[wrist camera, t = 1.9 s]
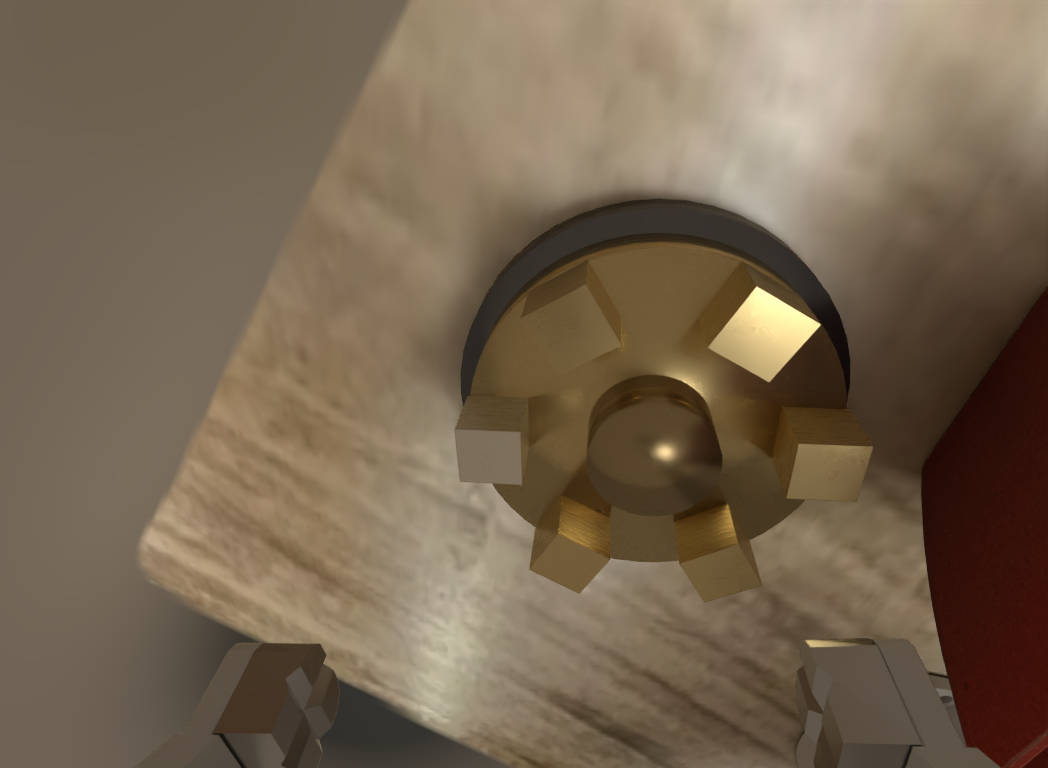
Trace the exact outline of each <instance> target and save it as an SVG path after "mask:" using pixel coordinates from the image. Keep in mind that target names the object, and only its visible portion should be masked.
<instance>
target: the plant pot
mask: <svg viewBox="0 0 1048 768" xmlns="http://www.w3.org/2000/svg"><path fill="white" fill-rule="evenodd" d="M921 500H922V517H923V535H924V546H925V555H926V564H927V573H928V580H929V587H930V594H931V600H932V606H933V612H934V617H935V622H936V627H937V632H938V637H939V642H940V646H941V651H942V655H943V659H944V663H945V667H946V671H947V676H948V680H949V683H950V687H951V691H952V695H953V699H954V703H955V707H956V710H957V714H958V718H959V721H960V725H961V728H962V732H963V736H964V739H965V742H966V745H967V747H972V748H978V749H979V750H980V751H981V752H983V753H984V754H985V755H986V756H987V757H989V758H990V759H991V760H992V761H993V762H995V763H996V764H997V765H998V766H999V767H1001V768H1048V288H1047V289H1046V290H1045V292H1044V293H1043V294H1042V296H1041V297H1040V299H1039V300H1038V301H1037V303H1036V304H1035V305H1034V307H1033V308H1032V310H1031V311H1030V313H1029V314H1028V315H1027V317H1026V318H1025V320H1024V321H1023V323H1022V324H1021V326H1020V327H1019V329H1018V330H1017V331H1016V333H1015V334H1014V336H1013V337H1012V338H1011V340H1010V341H1009V343H1008V344H1007V346H1006V347H1005V349H1004V350H1003V352H1002V353H1001V354H1000V356H999V357H998V359H997V360H996V362H995V363H994V364H993V366H992V367H991V369H990V370H989V371H988V373H987V374H986V376H985V377H984V379H983V380H982V381H981V383H980V384H979V386H978V387H977V389H976V390H975V392H974V393H973V394H972V396H971V397H970V399H969V400H968V402H967V403H966V404H965V406H964V407H963V409H962V410H961V412H960V413H959V415H958V416H957V418H956V419H955V420H954V422H953V423H952V424H951V426H950V427H949V429H948V430H947V431H946V433H945V434H944V436H943V437H942V439H941V440H940V442H939V443H938V445H937V446H936V447H935V449H934V450H933V452H932V453H931V455H930V456H929V457H928V459H927V460H926V462H925V463H924V465H923V468H922V480H921Z"/></svg>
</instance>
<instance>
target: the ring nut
mask: <svg viewBox="0 0 1048 768" xmlns="http://www.w3.org/2000/svg"><path fill="white" fill-rule="evenodd" d="M846 399H847V393H846V386H845V379H844V373H843V369H842V366H841V363H840V360H839V357H838V354H837V351H836V349H835V347H834V345H833V343H832V341H831V339H830V338H829V336H828V334H827V332H826V330H825V329H824V327H823V326H822V324H821V323H820V322H819V320H818V319H817V317H816V316H815V315H814V313H813V312H812V311H811V309H810V308H809V307H808V305H807V304H806V303H805V301H804V300H803V299H802V297H801V296H800V295H799V293H798V292H797V291H796V289H795V288H793V287H792V286H791V285H790V284H789V283H788V282H787V281H786V280H785V279H784V278H783V277H782V276H781V275H780V274H779V273H778V272H776V271H775V270H773V269H772V268H770V267H769V266H768V265H766V264H765V263H763V262H762V261H760V260H759V259H757V258H755V257H753V256H751V255H749V254H747V253H745V252H743V251H741V250H739V249H737V248H735V247H732V246H729V245H726V244H723V243H720V242H718V241H715V240H711V239H706V238H701V237H696V236H691V235H686V234H671V233H648V234H633V235H628V236H623V237H617V238H612V239H607V240H604V241H601V242H598V243H595V244H592V245H589V246H586V247H583V248H581V249H579V250H577V251H574V252H572V253H570V254H568V255H566V256H564V257H562V258H560V259H559V260H557V261H555V262H554V263H552V264H551V265H549V266H548V267H546V268H544V269H543V270H541V271H540V272H539V273H538V274H537V275H535V276H534V277H533V278H532V279H531V280H529V281H528V282H527V283H526V284H525V285H523V287H522V288H521V289H520V290H519V291H518V292H517V293H516V294H515V295H514V297H513V298H512V299H511V300H510V301H509V302H508V303H507V305H506V306H505V308H504V309H503V311H502V312H501V314H500V315H499V317H498V318H497V320H496V322H495V324H494V326H493V328H492V330H491V332H490V334H489V336H488V338H487V341H486V344H485V346H484V349H483V351H482V354H481V356H480V359H479V361H478V365H477V368H476V371H475V375H474V378H473V381H472V388H471V395H470V396H467V398H466V401H465V404H464V406H463V409H462V411H461V414H460V417H459V419H458V422H457V425H456V427H455V438H456V448H457V458H458V468H459V477H460V482H476V483H492V484H493V486H494V487H495V489H496V490H497V492H498V493H499V494H500V495H501V496H502V497H503V499H504V500H505V501H506V502H507V503H508V504H509V505H510V507H512V508H513V509H514V510H515V511H516V512H517V513H518V514H519V515H520V516H522V517H523V518H524V519H525V520H526V521H528V522H529V523H531V524H532V525H533V526H535V527H536V529H535V534H534V541H533V548H532V555H531V561H530V568H529V570H531V571H533V572H535V573H537V574H539V575H542V576H544V577H546V578H548V579H550V580H552V581H554V582H556V583H558V584H560V585H562V586H564V587H567V588H569V589H571V590H573V591H575V592H577V593H580V592H581V591H582V590H583V589H584V588H585V587H586V586H587V584H588V583H589V582H590V581H591V580H592V579H593V578H594V577H595V576H596V574H597V573H598V572H599V571H600V570H601V569H602V568H603V567H604V566H605V564H606V563H607V562H608V561H609V560H610V558H614V559H620V560H629V561H638V562H665V561H678V560H679V563H680V565H681V567H682V568H683V570H684V571H685V573H686V574H687V576H688V578H689V579H690V581H691V582H692V584H693V585H694V587H695V588H696V590H697V591H698V593H699V594H700V596H701V598H702V599H703V601H704V602H708V601H712V600H715V599H718V598H722V597H725V596H728V595H732V594H735V593H738V592H742V591H745V590H748V589H752V588H755V587H758V586H762V583H761V580H760V576H759V573H758V569H757V565H756V562H755V558H754V554H753V551H752V547H751V544H750V541H749V540H751V539H753V538H755V537H757V536H759V535H761V534H763V533H764V532H766V531H767V530H769V529H770V528H772V527H773V526H775V525H776V524H778V523H780V522H781V521H782V520H783V519H785V518H786V517H787V516H788V515H790V514H791V513H792V512H793V511H794V510H796V509H797V508H798V507H799V506H800V505H801V504H802V503H803V502H804V501H805V500H826V501H845V502H857V499H858V496H859V493H860V490H861V486H862V483H863V480H864V476H865V473H866V470H867V467H868V463H869V460H870V457H871V453H872V450H873V445H872V444H871V442H870V441H869V439H868V437H867V436H866V434H865V433H864V431H863V430H862V428H861V426H860V425H859V423H858V422H857V420H856V419H855V417H854V415H853V414H852V412H851V411H850V409H846Z"/></svg>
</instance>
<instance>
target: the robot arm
mask: <svg viewBox="0 0 1048 768" xmlns="http://www.w3.org/2000/svg"><path fill="white" fill-rule="evenodd" d="M800 657H801V660H802V663H803V667H801V668H800V669H799V670H797V674H796V684H795V686H796V698H797V705H798V710H799V715H800V719H801V722H802V726H803V729H804V734H803V736H802V737H801V739H800V741H799V743H798V745H797V749H796V761H797V765H798V767H799V768H1001V767H999V766H998V765H997V764H996V763H995V762H993V761H992V760H991V759H990V758H989V757H987V756H986V755H985V754H984V753H983V752H981V751H980V750H979V749H978V748H972V747H967V745H966V742H965V739H964V736H963V732H962V728H961V725H960V721H959V718H958V714H957V710H956V707H955V703H954V699H953V695H952V691H951V687H950V683H949V680H948V678H943V677H938V676H933V675H928V673H927V671H926V669H925V667H924V665H923V663H922V661H921V659H920V657H919V655H918V653H917V651H916V649H915V647H914V646H913V645H912V644H911V643H910V642H909V641H908V640H906V639H871V640H870V639H869V638H862V639H818V640H804V641H803V642H802V643H801V648H800ZM325 658H326V653H325V652H324V650H323V648H322V646H321V644H292V643H237V644H236V645H234V646H233V647H232V648H231V649H230V650H229V651H228V652H227V654H226V656H225V658H224V660H223V661H222V663H221V665H220V667H219V669H218V670H217V672H216V674H215V676H214V677H213V679H212V681H211V683H210V685H209V686H208V688H207V690H206V692H205V694H204V695H203V697H202V699H201V701H200V702H199V704H198V706H197V708H196V710H195V711H194V713H193V715H192V717H191V719H190V720H189V722H188V724H187V726H186V728H185V730H184V731H183V733H182V734H174V735H172V736H171V737H170V738H169V739H168V740H167V741H165V742H164V743H163V744H162V745H161V746H159V747H158V748H157V749H156V750H155V751H154V752H152V753H151V754H150V755H149V756H147V757H146V758H145V759H144V760H143V761H142V762H140V763H139V764H138V765H137V766H136V767H135V768H317V766H318V764H319V761H320V758H321V755H322V750H321V746H320V742H319V738H320V737H321V736H322V735H323V734H325V733H326V732H327V731H328V730H329V728H330V727H332V724H333V721H334V718H335V715H336V712H337V708H338V699H339V685H338V679H337V677H336V674H335V672H334V671H333V670H332V669H330V668H329V667H327V666H326V665H325V664H323V663H324V660H325Z"/></svg>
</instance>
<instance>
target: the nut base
mask: <svg viewBox="0 0 1048 768" xmlns="http://www.w3.org/2000/svg"><path fill="white" fill-rule="evenodd" d="M648 233H671V234H686V235H691V236H696V237H701V238H706V239H711V240H715V241H718V242H720V243H723V244H726V245H729V246H732V247H735V248H737V249H739V250H741V251H743V252H745V253H747V254H749V255H751V256H753V257H755V258H757V259H759V260H760V261H762V262H763V263H765V264H766V265H768V266H769V267H770V268H772V269H773V270H775V271H776V272H778V273H779V274H780V275H781V276H782V277H783V278H784V279H785V280H786V281H787V282H788V283H789V284H790V285H791V286H792V287H793V288H795V289H796V291H797V292H798V293H799V295H800V296H801V297H802V299H803V300H804V301H805V303H806V304H807V305H808V307H809V308H810V309H811V311H812V312H813V313H814V315H815V316H816V317H817V319H818V320H819V322H820V323H821V324H822V326H823V327H824V329H825V330H826V332H827V334H828V336H829V338H830V339H831V341H832V343H833V345H834V347H835V349H836V351H837V354H838V357H839V360H840V363H841V366H842V369H843V373H844V379H845V386H846V393H847V397H848V391H849V386H850V356H849V349H848V342H847V337H846V334H845V331H844V328H843V325H842V321H841V318H840V315H839V313H838V312H837V310H836V308H835V306H834V304H833V302H832V300H831V298H830V296H829V294H828V293H827V291H826V290H825V289H824V287H823V286H822V285H821V283H820V282H819V281H818V279H817V278H816V276H815V275H814V274H813V273H812V271H811V270H810V269H809V268H808V267H807V265H806V264H805V263H804V262H803V261H802V260H801V259H800V258H799V257H798V256H797V255H796V254H795V253H794V252H793V251H792V250H791V249H790V248H789V247H788V246H787V245H786V244H785V243H784V242H783V241H781V240H780V239H779V238H777V237H776V236H774V235H773V234H772V233H770V232H769V231H767V230H766V229H765V228H763V227H761V226H760V225H758V224H756V223H754V222H752V221H750V220H748V219H746V218H744V217H742V216H740V215H738V214H735V213H732V212H729V211H726V210H723V209H720V208H717V207H715V206H710V205H705V204H700V203H695V202H690V201H683V200H667V199H651V200H636V201H628V202H623V203H618V204H613V205H608V206H603V207H600V208H597V209H594V210H591V211H588V212H585V213H582V214H579V215H577V216H575V217H573V218H571V219H569V220H567V221H565V222H563V223H561V224H559V225H557V226H554V227H553V228H551V229H550V230H548V231H547V232H545V233H544V234H542V235H541V236H539V237H538V238H536V239H535V240H533V241H532V242H531V243H530V244H529V245H528V246H526V247H525V248H524V249H523V250H522V251H521V252H520V253H518V254H517V255H516V256H515V257H514V258H513V259H512V260H511V261H510V263H509V264H508V265H507V266H506V267H505V268H504V270H503V271H502V272H501V273H500V274H499V275H498V277H497V279H496V280H495V282H494V283H493V285H492V286H491V288H490V289H489V291H488V292H487V294H486V296H485V298H484V300H483V302H482V305H481V307H480V309H479V311H478V313H477V316H476V318H475V320H474V322H473V324H472V327H471V329H470V331H469V335H468V338H467V342H466V345H465V349H464V353H463V360H462V368H461V395H462V401H463V406H464V404H465V401H466V398H467V396H470V395H471V388H472V381H473V378H474V375H475V371H476V368H477V365H478V361H479V359H480V356H481V354H482V351H483V349H484V346H485V344H486V341H487V338H488V336H489V334H490V332H491V330H492V328H493V326H494V324H495V322H496V320H497V318H498V317H499V315H500V314H501V312H502V311H503V309H504V308H505V306H506V305H507V303H508V302H509V301H510V300H511V299H512V298H513V297H514V295H515V294H516V293H517V292H518V291H519V290H520V289H521V288H522V287H523V285H525V284H526V283H527V282H528V281H529V280H531V279H532V278H533V277H534V276H535V275H537V274H538V273H539V272H540V271H541V270H543V269H544V268H546V267H548V266H549V265H551V264H552V263H554V262H555V261H557V260H559V259H560V258H562V257H564V256H566V255H568V254H570V253H572V252H574V251H577V250H579V249H581V248H583V247H586V246H589V245H592V244H595V243H598V242H601V241H604V240H607V239H612V238H617V237H623V236H628V235H633V234H648ZM846 402H847V399H846Z"/></svg>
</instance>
